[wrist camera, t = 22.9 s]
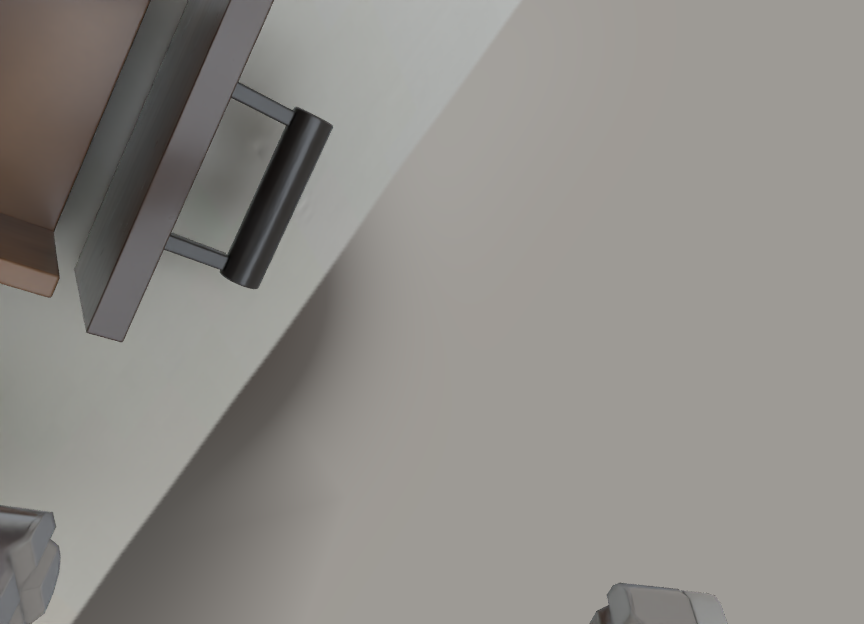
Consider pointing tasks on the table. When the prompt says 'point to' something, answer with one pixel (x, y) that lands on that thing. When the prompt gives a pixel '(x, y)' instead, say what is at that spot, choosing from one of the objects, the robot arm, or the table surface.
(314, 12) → the table surface
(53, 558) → the robot arm
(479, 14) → the table surface
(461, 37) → the table surface
